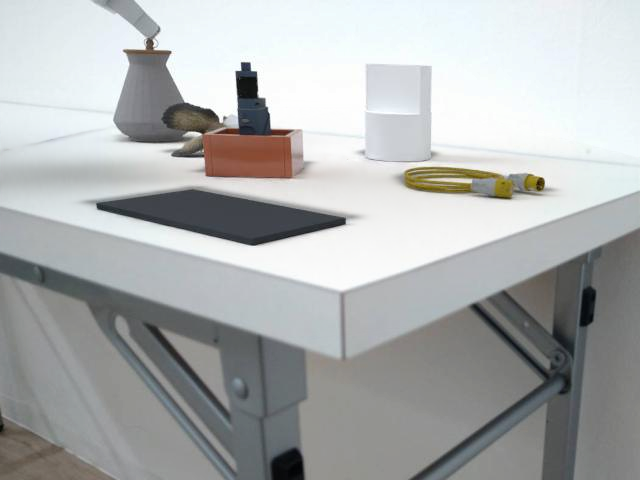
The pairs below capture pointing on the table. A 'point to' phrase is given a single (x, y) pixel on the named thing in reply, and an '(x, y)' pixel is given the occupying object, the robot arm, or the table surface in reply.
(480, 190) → the extension cord
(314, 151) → the table surface
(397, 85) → the base with upright slab
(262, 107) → the vaping device
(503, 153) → the table surface
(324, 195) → the table surface
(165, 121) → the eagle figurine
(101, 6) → the robot arm
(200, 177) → the table surface
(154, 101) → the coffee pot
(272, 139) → the open box
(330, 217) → the mat
